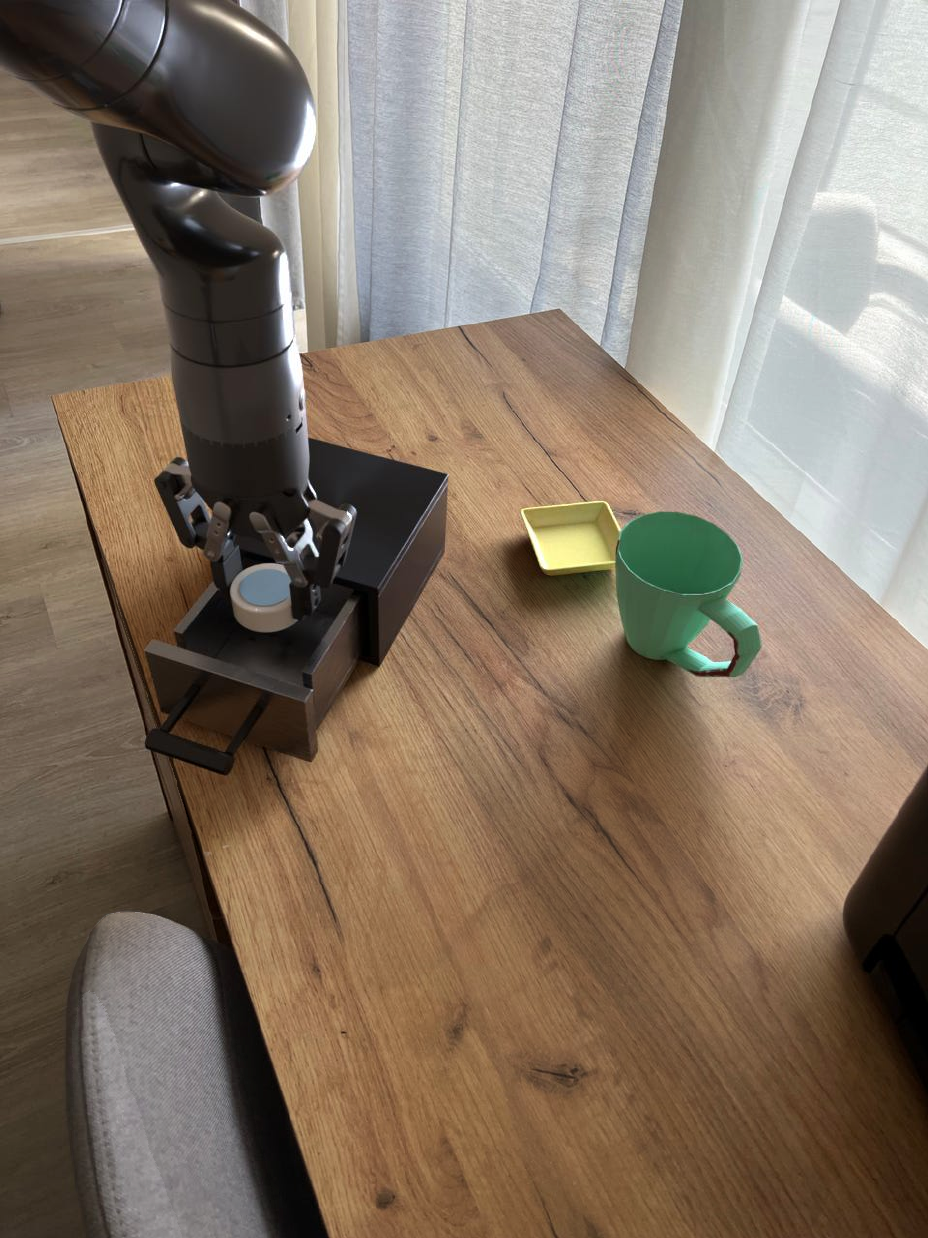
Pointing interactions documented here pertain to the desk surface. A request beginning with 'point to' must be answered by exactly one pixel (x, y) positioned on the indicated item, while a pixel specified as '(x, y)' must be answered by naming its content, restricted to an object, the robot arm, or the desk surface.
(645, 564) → the mug
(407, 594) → the black box
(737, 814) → the desk surface
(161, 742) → the drawer
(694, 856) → the desk surface
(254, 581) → the button
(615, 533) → the yellow square dish
